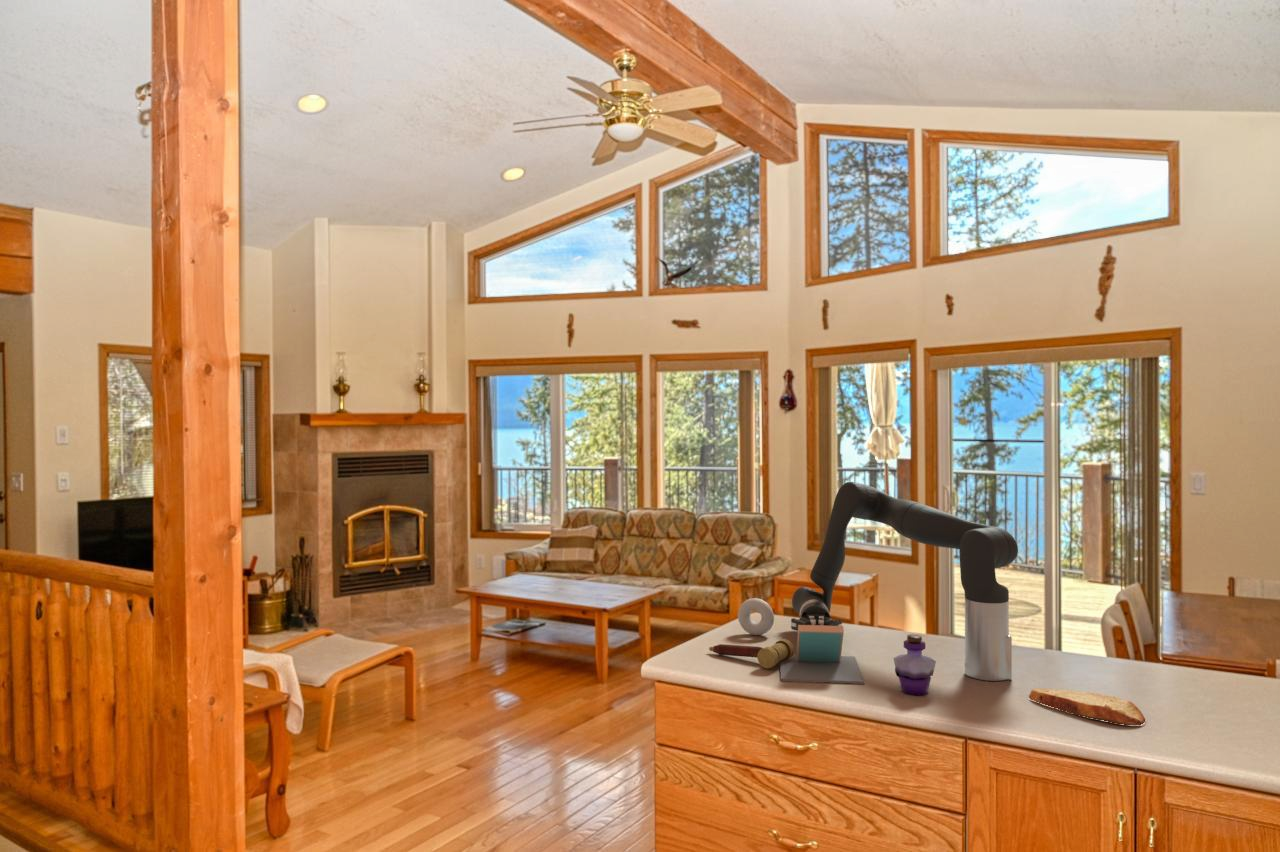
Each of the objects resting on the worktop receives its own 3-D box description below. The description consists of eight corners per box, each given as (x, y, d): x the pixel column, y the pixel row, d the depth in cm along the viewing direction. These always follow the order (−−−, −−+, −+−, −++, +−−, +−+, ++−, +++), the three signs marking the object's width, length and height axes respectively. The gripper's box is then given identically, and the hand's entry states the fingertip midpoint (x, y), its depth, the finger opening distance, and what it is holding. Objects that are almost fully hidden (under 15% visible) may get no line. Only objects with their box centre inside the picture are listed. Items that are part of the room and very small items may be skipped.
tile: (839, 656, 204) (843, 626, 194) (840, 663, 203) (843, 633, 193) (796, 655, 205) (798, 624, 195) (797, 661, 204) (798, 631, 194)
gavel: (697, 644, 210) (719, 635, 218) (699, 662, 210) (720, 653, 218) (773, 649, 198) (793, 639, 206) (775, 669, 198) (795, 658, 205)
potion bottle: (894, 684, 188) (893, 629, 188) (935, 687, 186) (935, 632, 186) (892, 696, 180) (892, 639, 180) (936, 700, 177) (936, 642, 177)
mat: (855, 658, 208) (855, 656, 208) (864, 684, 188) (864, 681, 188) (779, 656, 211) (779, 653, 211) (780, 681, 191) (780, 678, 191)
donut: (736, 634, 232) (735, 597, 232) (740, 631, 235) (739, 595, 235) (772, 638, 228) (772, 600, 228) (775, 635, 231) (775, 598, 231)
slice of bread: (1022, 696, 181) (1022, 678, 181) (1112, 699, 179) (1112, 681, 179) (1054, 727, 163) (1054, 707, 163) (1155, 730, 161) (1155, 710, 161)
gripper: (788, 601, 221) (790, 616, 204) (841, 602, 219) (847, 618, 202) (788, 630, 221) (790, 648, 204) (841, 632, 219) (847, 650, 202)
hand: (818, 633), depth 203 cm, fingers closed
